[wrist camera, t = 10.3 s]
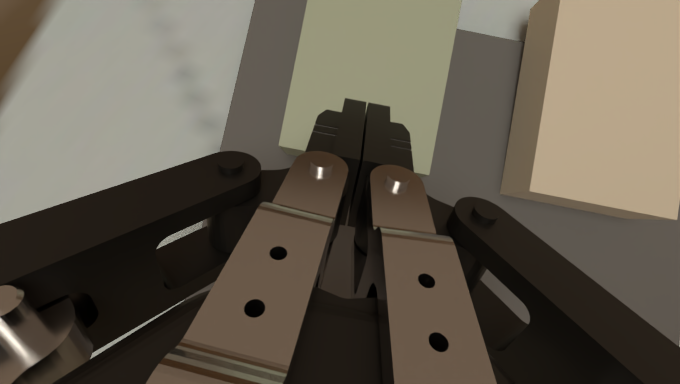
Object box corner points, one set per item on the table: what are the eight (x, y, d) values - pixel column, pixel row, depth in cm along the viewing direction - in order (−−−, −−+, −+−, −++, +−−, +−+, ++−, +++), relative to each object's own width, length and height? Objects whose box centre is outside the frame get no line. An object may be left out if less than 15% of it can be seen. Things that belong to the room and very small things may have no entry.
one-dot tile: (413, 179, 16) (448, -7, 16) (429, 175, 14) (470, -46, 14) (287, 154, 16) (324, -32, 16) (278, 145, 13) (322, -76, 14)
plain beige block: (621, 218, 16) (647, 36, 17) (677, 220, 14) (706, 4, 14) (497, 194, 16) (527, 12, 17) (529, 191, 14) (564, -25, 14)
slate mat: (687, 83, 18) (700, 77, 17) (660, 412, 16) (673, 420, 15) (260, -3, 17) (257, -12, 17) (184, 323, 15) (178, 327, 15)
